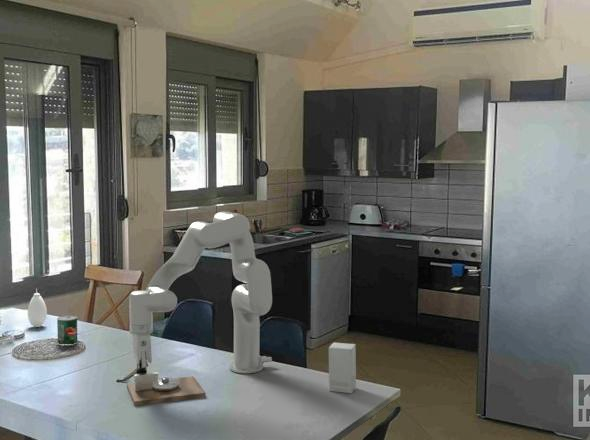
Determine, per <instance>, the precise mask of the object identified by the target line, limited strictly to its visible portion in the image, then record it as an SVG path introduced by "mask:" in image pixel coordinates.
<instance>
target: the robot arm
mask: <svg viewBox="0 0 590 440" xmlns="http://www.w3.org/2000/svg"><path fill="white" fill-rule="evenodd" d="M250 229H251V223H250V221H249V219H248V218H247V216H245V215H243V214H241V213H236V212H231V211H220V212H219V211H218V212H217V213H215V214H214V217H213V219H212V222H205V221H195V222H192V223H191V224H190V226H188V228H187V230H186V232H185V233H184V235H183V237H182V239H181V240H180V243H179V244H178V246H177V247H176V249H175V251H174V252H173V255H172V256H171V257H170V258H169V259H168V260H167V261H165V262H164V264H163V265H162V266H160V267H159V268H158V269H157V271H155V273H154V275H153V276H152V278H151V280H150V281H149V283H148V285H147V287H146V289H145V290H135V291H132V292H130V294H129V296H128V300H129V301H128V303H129V306H128V307H129V312H128V314H129V334H130V335H132V350H133V351H132V352H133V359H134V360H135V362H136V368H137V369H136V368H135V369H136V370H137V373H136V374H142V373H148V369H147V368H148V367H147V365H148V363H149V364H151V363H152V362H153V357H152V339H151V334H152V333H153V325H154V324H153V323H154V322H153V318H154V317H153V313H169V312H171V311H173V310H174V309H175V308H176V307H177V305H178V297H177V295H176V294H175V293H174V292H173V291H171V290H170V287H171V285H172V284H173V283H174V281H176V279H178V278H179V277H181V276H182V275H185V274H187V273H189V272H191V271H193V270H194V269H195V267H196V265H197V264H198V262H199V259H200V258H201V256H202V255H203V254H204V252H205V249H215V248H219V247H223V246H225V245H228V244H229V246H230V254H231V256H230V257H231V264H232V265H231V266H232V273H233V274H232V275H233V277H234V278H235V279H236V280H237V281H239V282H242V284H239V285H237V286H236V287H235V288H234V289H233V291H232V293H231V306H232V311H233V362H231V363H230V364H229V370H230V371H231V372H234V373H238V374H255V373H259V372H261V371H262V370H263V369H264V363H271V362H272V361H273V358H272V357H271V356H267V355H263V356H262V355H260V329H261V328H260V327H261V323H260V316H264V315H266V314H267V313H268V312H269V311H270V310H271V308H272V305H273V292H272V277H271V270H270V268H269V266H268V264H267V263H266V262H265V261H263V260H262V259H258V258H257V257H256V252H255V251H256V250H255V244H254V240H253V236H252V234H251V231H250Z"/></svg>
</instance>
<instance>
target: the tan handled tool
mask: <svg viewBox="0 0 590 440" xmlns="http://www.w3.org/2000/svg"><path fill="white" fill-rule="evenodd" d="M136 369H137V367H136V368H135V369H134V370H133V371H131V372H130V373H128V374H127V375H126V376H125V377H123V379H119V378H118V379H116V380H115V381H116V383H122V384H129V381H130V378H131V377H132V376H134V374H137V370H136Z"/></svg>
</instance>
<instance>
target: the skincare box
mask: <svg viewBox="0 0 590 440" xmlns="http://www.w3.org/2000/svg"><path fill="white" fill-rule="evenodd" d="M356 345H357V344H356V343H344V342H343V343H342V342H333V343H331V344H330V345H329V346H328V391H329V392H336V393H346V394H352V393H353V392H354V390H355V389H356V388H357V380H356V379H357V368H356V367H357V366H356V365H357V363H356V362H357V359H356V358H357V357H356V349H357V347H356Z"/></svg>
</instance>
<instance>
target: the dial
mask: <svg viewBox="0 0 590 440" xmlns="http://www.w3.org/2000/svg"><path fill="white" fill-rule="evenodd" d="M133 376H134V378H133V379H134V383H135V391H137V390H145V389H154V390H157V391H170V390H174V389H176V388H178V387H179V381H178V380H177V379H175V378H174V377H161V378H159V372H158V371H153V372H147V373H142V374H137V373H135V374H134V375H133Z"/></svg>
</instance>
